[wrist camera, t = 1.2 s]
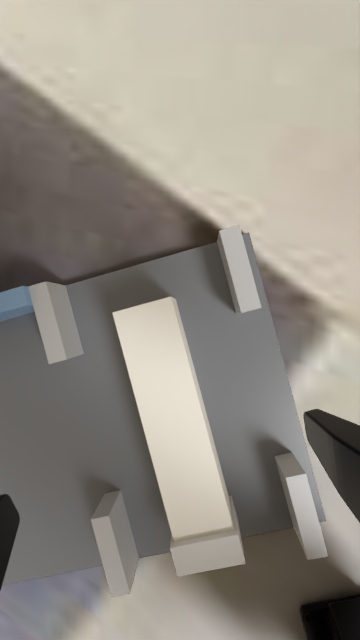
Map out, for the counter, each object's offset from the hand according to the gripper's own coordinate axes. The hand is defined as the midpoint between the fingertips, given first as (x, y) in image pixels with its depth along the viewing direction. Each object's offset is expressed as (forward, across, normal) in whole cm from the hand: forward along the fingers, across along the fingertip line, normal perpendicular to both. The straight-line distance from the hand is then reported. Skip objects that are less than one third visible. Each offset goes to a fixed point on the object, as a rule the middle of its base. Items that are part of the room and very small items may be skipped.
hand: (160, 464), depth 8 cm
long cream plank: (+10, 0, +4) cm, 11 cm away
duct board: (+11, +6, +5) cm, 14 cm away
